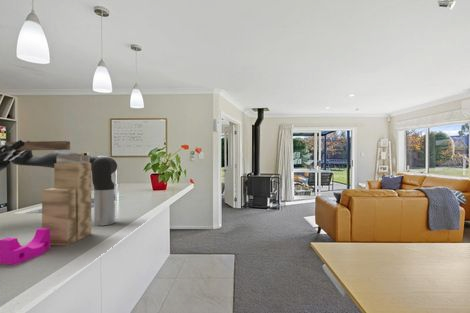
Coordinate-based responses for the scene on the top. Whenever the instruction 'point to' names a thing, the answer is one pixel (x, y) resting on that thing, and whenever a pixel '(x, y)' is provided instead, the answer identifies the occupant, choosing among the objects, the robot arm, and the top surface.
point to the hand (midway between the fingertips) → (26, 142)
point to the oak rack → (68, 200)
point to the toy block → (24, 247)
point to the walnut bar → (43, 145)
